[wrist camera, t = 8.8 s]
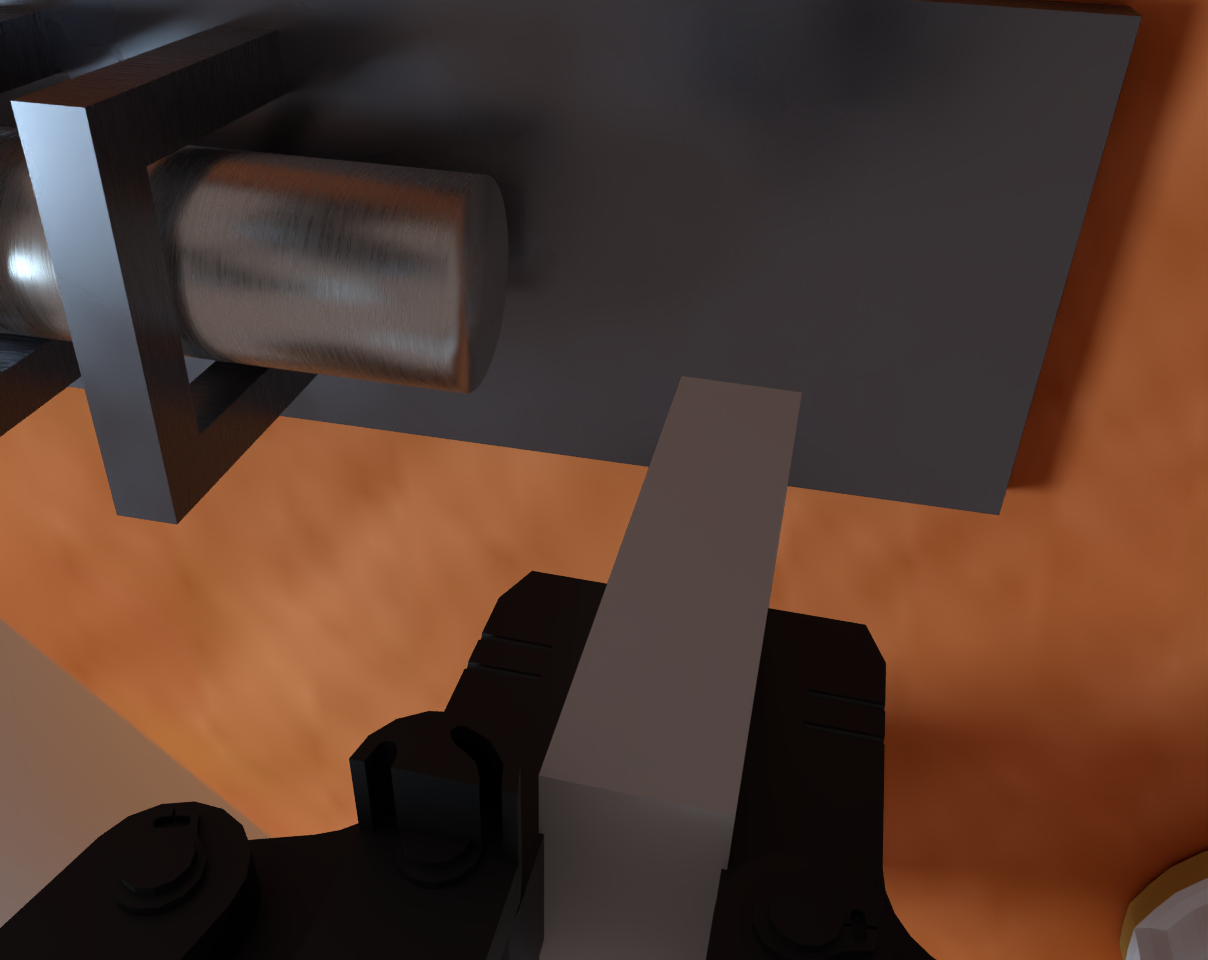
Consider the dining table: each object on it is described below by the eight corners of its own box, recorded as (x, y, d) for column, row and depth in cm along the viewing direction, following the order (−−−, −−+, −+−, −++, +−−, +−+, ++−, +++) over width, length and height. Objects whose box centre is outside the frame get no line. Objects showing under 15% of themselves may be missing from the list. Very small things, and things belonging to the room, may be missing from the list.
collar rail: (-348, -96, 23) (-852, -49, 16) (1129, 6, 19) (1280, 130, 12) (-179, 331, 28) (-505, 500, 22) (994, 490, 24) (1045, 765, 17)
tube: (509, 138, 21) (435, 210, 17) (511, 342, 23) (447, 443, 19) (-216, 69, 23) (-413, 120, 19) (-147, 261, 25) (-312, 337, 22)
